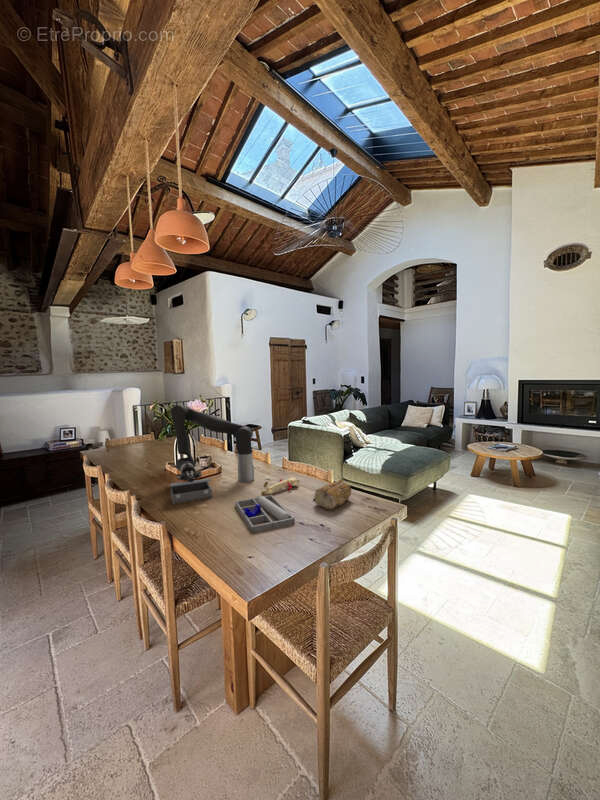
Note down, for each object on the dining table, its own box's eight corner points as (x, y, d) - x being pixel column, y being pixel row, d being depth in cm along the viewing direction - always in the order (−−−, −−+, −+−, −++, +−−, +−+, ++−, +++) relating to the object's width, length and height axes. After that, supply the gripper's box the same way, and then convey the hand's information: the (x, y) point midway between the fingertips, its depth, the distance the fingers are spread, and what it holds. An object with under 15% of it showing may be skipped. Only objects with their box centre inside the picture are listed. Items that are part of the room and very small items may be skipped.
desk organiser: (271, 499, 181) (271, 495, 181) (294, 523, 153) (294, 518, 153) (235, 506, 173) (235, 501, 173) (252, 532, 145) (252, 527, 145)
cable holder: (248, 519, 157) (248, 511, 157) (244, 517, 160) (244, 509, 159) (262, 514, 163) (262, 506, 162) (258, 511, 165) (258, 504, 165)
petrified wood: (333, 493, 187) (336, 477, 185) (353, 504, 179) (357, 487, 177) (311, 504, 172) (314, 485, 170) (332, 516, 164) (336, 497, 162)
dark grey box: (207, 489, 198) (207, 481, 197) (212, 498, 184) (211, 489, 184) (170, 495, 190) (170, 486, 189) (172, 504, 176) (172, 495, 176)
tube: (293, 513, 155) (266, 495, 176) (283, 512, 152) (257, 494, 173) (290, 525, 155) (263, 506, 176) (280, 524, 152) (254, 505, 173)
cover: (207, 480, 197) (207, 478, 197) (211, 480, 184) (211, 478, 184) (170, 485, 189) (170, 483, 189) (171, 486, 176) (171, 484, 176)
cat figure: (270, 500, 183) (304, 485, 200) (269, 485, 182) (303, 471, 199) (259, 495, 191) (292, 481, 207) (257, 480, 189) (291, 467, 206)
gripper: (175, 465, 192) (177, 474, 176) (199, 463, 197) (204, 471, 181) (175, 478, 193) (178, 488, 177) (200, 475, 198) (204, 485, 182)
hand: (191, 480), depth 179 cm, fingers closed
